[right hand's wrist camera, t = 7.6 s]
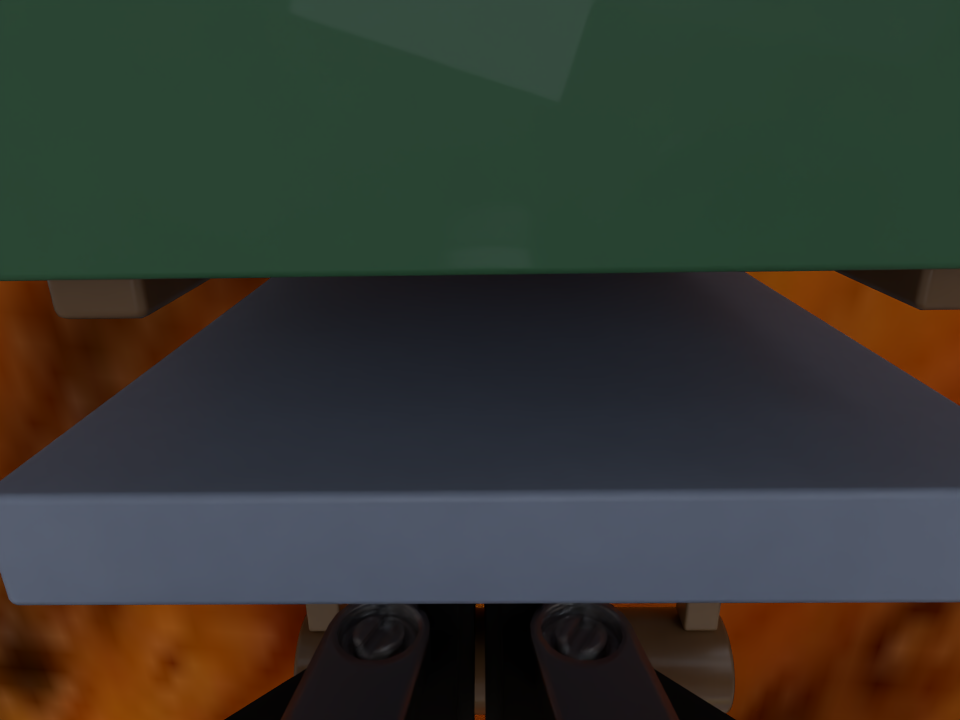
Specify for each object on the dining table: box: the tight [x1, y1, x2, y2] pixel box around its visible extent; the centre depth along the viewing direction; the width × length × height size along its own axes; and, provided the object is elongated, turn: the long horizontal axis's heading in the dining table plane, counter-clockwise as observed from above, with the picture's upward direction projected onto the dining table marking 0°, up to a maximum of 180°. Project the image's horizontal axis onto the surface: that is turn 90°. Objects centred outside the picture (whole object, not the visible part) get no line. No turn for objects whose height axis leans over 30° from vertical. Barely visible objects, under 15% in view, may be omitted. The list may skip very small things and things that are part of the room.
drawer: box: [0, 269, 960, 715], centre depth 9 cm, size 21×10×10 cm, turn 1°
